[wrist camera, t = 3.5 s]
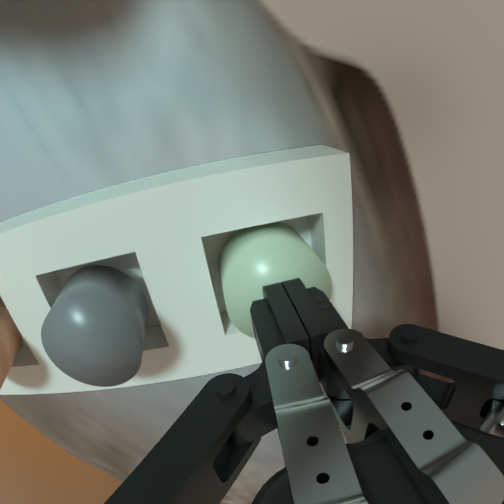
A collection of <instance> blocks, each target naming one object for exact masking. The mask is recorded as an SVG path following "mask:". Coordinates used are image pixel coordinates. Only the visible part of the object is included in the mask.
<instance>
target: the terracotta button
mask: <svg viewBox="0 0 504 504" xmlns="http://www.w3.org/2000/svg"><path fill="white" fill-rule="evenodd" d="M21 346H22V335H21V333H20V331H19V330H18V328H17V326H16V324H15V323H14V321H13V319H12V317H11V315H10V313H9V311H8V310H7V309H6V308H5V307H4V306H3V305H2V304H1V303H0V389H1V387H2V385H3V383H4V381H5V379H6V377H7V375H8V373H9V370H10V368H11V366H12V364H13V362H14V360H15V358H16V356H17V354H18V352H19V350H20V349H21Z"/></svg>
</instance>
